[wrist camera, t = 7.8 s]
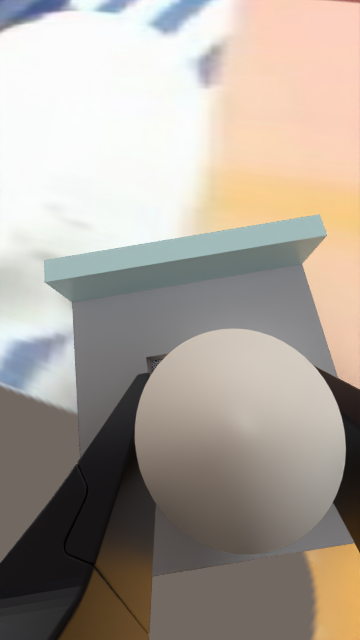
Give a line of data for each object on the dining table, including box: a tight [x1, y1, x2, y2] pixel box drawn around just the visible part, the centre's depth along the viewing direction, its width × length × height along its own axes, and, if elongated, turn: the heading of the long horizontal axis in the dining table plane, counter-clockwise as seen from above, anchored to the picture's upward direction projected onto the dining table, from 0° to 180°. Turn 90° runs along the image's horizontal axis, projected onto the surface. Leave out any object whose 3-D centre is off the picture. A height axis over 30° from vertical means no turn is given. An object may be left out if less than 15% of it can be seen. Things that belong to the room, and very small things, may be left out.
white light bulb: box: [135, 328, 346, 554], centre depth 10 cm, size 4×4×10 cm
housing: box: [44, 214, 354, 576], centre depth 13 cm, size 15×14×5 cm
